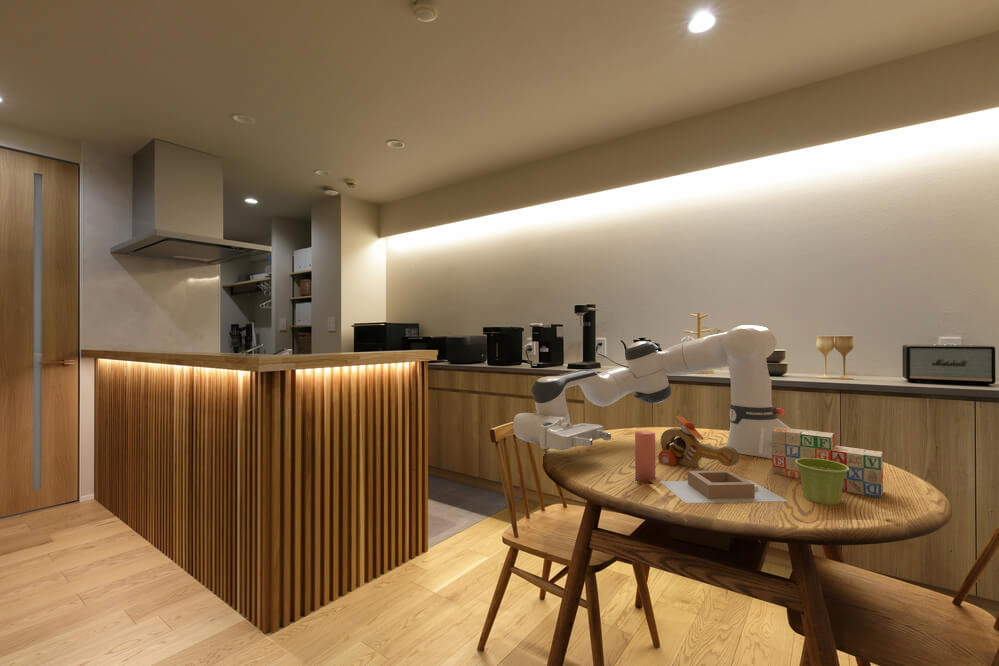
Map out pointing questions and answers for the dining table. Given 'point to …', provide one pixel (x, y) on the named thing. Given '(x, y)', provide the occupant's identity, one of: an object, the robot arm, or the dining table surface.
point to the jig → (719, 488)
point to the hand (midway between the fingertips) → (600, 439)
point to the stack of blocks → (827, 458)
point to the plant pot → (822, 479)
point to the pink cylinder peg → (644, 456)
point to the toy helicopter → (691, 447)
